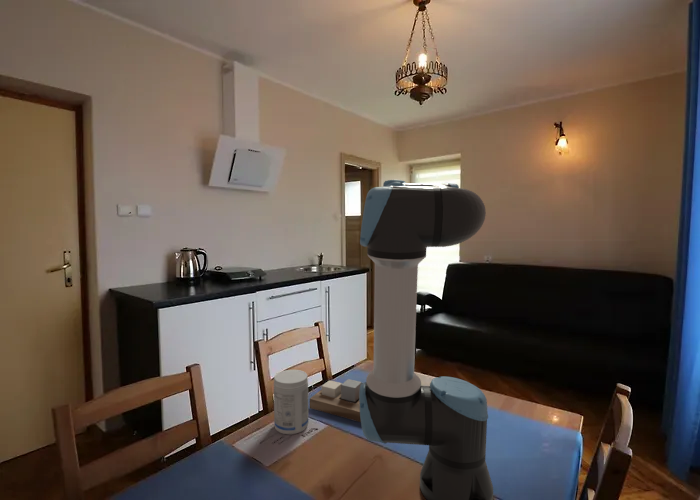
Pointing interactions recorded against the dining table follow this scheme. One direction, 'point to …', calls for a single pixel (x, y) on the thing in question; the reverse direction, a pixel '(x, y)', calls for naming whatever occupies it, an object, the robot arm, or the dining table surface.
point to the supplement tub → (290, 401)
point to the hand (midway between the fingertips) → (392, 299)
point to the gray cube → (350, 390)
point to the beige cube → (331, 389)
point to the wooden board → (336, 406)
